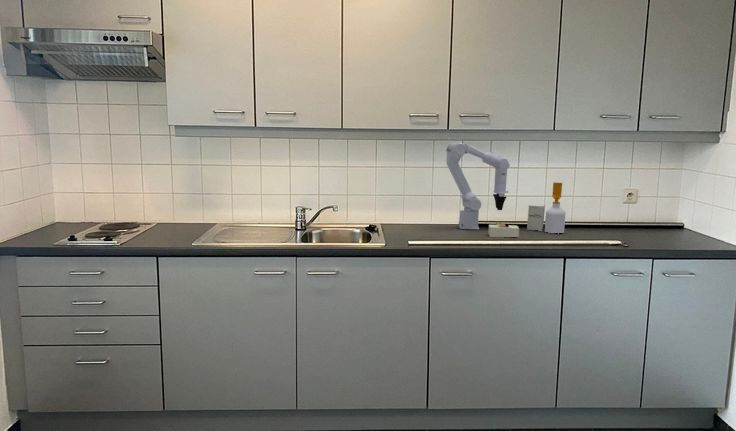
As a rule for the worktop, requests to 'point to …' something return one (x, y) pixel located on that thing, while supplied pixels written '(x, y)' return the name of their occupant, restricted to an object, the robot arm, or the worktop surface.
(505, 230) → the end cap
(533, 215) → the supplement box
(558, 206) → the soap bottle
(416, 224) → the worktop surface
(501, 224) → the slat
